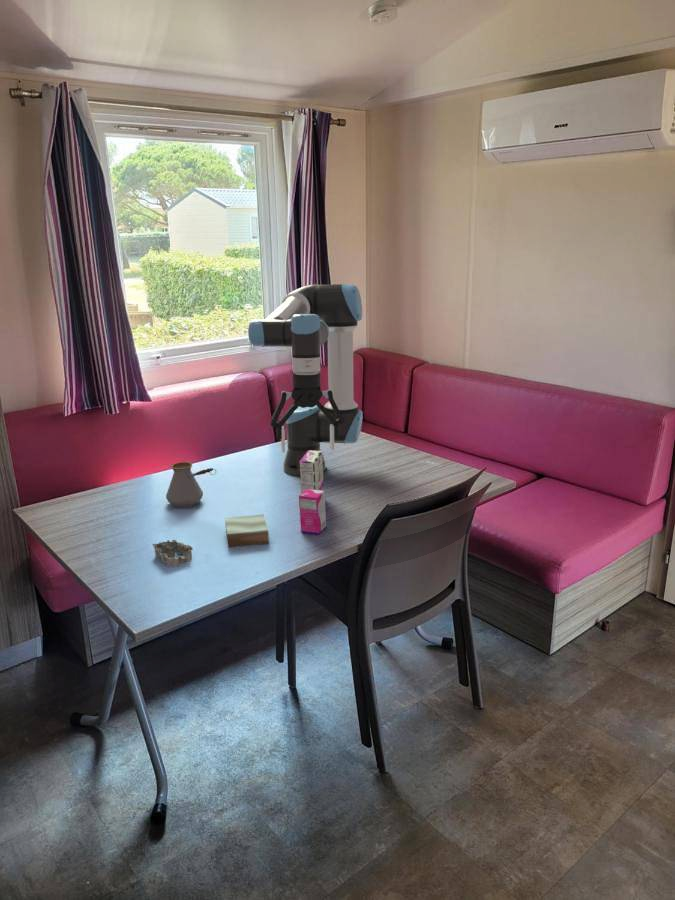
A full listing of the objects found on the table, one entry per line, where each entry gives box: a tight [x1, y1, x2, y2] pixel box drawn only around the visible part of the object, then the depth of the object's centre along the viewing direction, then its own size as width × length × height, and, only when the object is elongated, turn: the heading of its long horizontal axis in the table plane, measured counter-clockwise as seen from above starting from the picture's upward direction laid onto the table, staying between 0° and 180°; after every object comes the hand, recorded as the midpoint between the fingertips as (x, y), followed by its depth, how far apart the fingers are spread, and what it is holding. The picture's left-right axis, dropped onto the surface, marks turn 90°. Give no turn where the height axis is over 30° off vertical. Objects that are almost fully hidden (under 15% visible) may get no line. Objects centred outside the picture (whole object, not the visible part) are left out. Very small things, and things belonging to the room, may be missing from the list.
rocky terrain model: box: [152, 539, 194, 568], centre depth 175 cm, size 11×8×4 cm
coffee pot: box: [165, 461, 217, 509], centre depth 206 cm, size 21×12×15 cm, turn 50°
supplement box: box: [298, 489, 327, 536], centre depth 189 cm, size 6×6×12 cm
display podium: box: [224, 514, 269, 548], centre depth 186 cm, size 11×11×4 cm
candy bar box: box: [299, 450, 325, 495], centre depth 205 cm, size 11×5×16 cm, turn 168°
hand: (307, 449), depth 184 cm, fingers open, 13 cm apart
